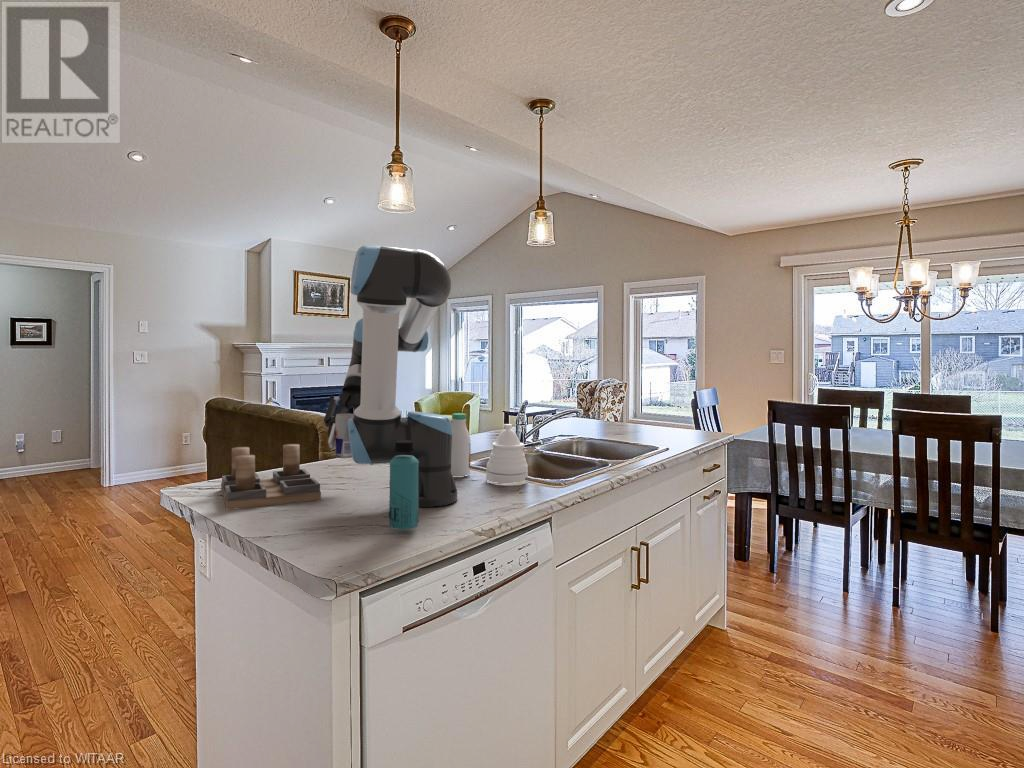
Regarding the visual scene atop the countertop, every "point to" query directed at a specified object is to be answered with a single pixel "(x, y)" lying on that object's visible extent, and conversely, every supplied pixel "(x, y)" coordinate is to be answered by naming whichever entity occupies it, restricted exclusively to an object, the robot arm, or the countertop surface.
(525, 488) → the countertop surface
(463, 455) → the milk bottle
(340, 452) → the energy drink
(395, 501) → the beverage bottle
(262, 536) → the countertop surface
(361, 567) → the countertop surface
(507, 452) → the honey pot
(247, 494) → the pillar candle tray
